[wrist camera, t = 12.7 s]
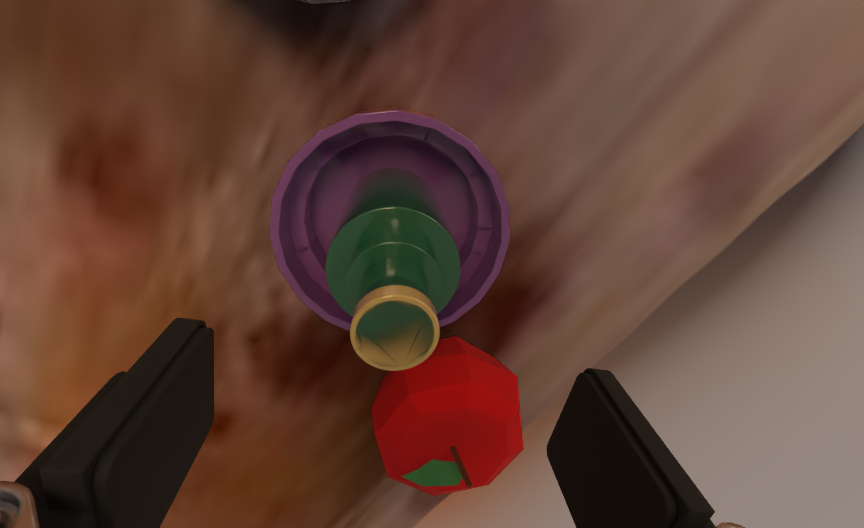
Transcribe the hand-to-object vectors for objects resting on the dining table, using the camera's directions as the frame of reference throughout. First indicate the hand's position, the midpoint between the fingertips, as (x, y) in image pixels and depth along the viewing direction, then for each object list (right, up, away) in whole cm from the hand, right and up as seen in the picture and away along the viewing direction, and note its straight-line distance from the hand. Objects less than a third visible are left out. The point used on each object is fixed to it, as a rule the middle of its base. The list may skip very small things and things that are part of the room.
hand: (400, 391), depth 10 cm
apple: (+1, -6, +22) cm, 23 cm away
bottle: (-2, +6, +16) cm, 17 cm away
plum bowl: (-2, +7, +16) cm, 18 cm away
